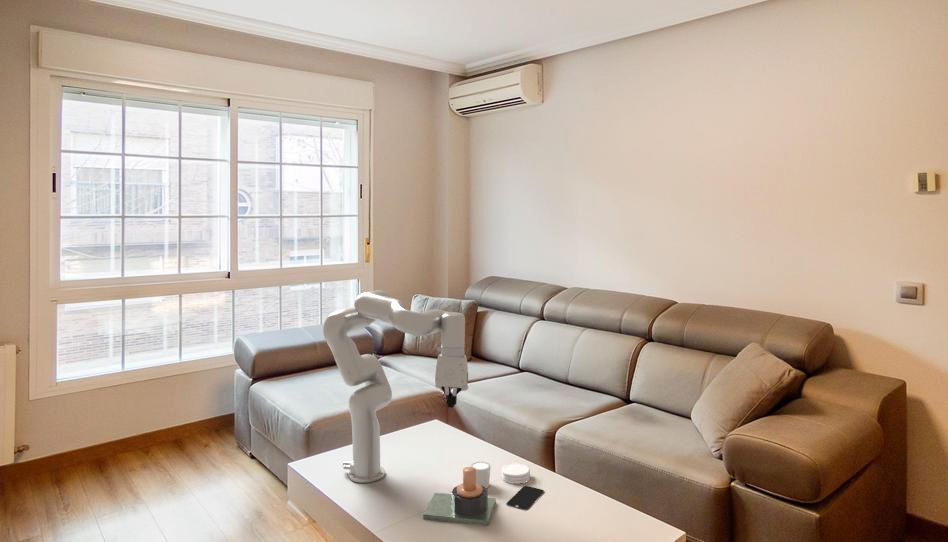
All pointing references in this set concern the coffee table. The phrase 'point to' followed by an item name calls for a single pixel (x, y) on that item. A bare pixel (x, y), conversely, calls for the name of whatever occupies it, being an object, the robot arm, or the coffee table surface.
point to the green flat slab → (461, 508)
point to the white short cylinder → (515, 473)
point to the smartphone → (525, 498)
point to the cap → (469, 484)
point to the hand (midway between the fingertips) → (451, 406)
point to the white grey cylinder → (482, 473)
